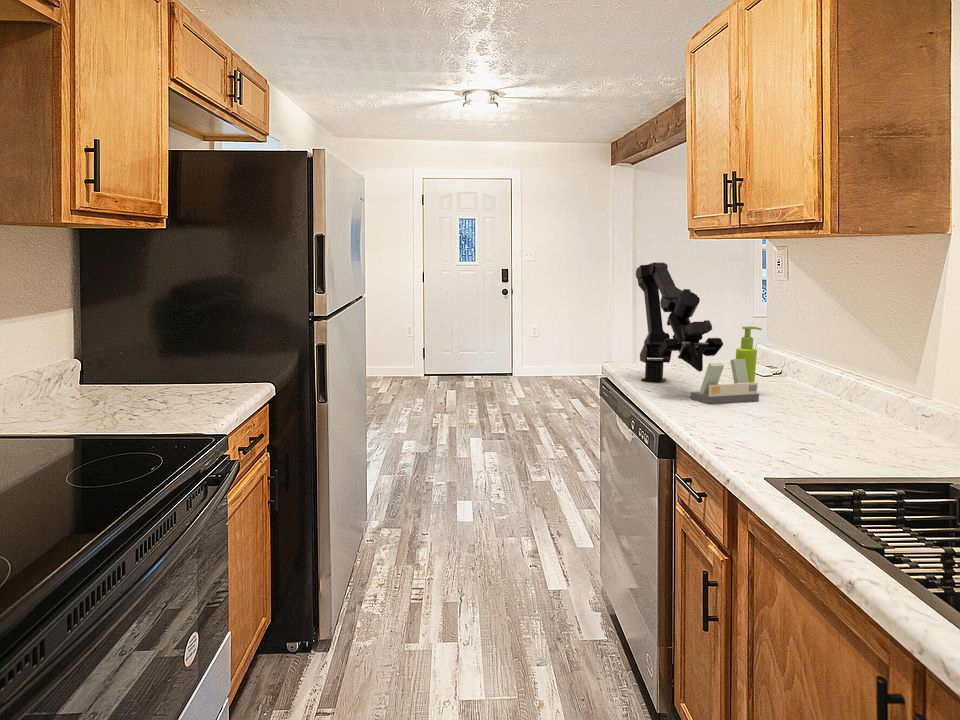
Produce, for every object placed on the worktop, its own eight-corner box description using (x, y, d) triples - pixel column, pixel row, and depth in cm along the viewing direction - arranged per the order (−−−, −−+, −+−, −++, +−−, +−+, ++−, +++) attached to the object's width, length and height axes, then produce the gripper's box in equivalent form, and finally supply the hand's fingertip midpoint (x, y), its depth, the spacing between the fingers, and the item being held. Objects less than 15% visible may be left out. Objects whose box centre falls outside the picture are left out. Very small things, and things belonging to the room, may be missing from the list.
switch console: (690, 398, 233) (691, 381, 233) (739, 395, 240) (740, 378, 239) (708, 404, 226) (709, 385, 225) (758, 400, 233) (759, 382, 232)
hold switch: (735, 390, 235) (730, 360, 237) (746, 390, 237) (741, 359, 238) (739, 389, 234) (733, 359, 235) (750, 389, 235) (744, 358, 237)
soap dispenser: (759, 394, 244) (764, 327, 241) (736, 393, 244) (741, 327, 241) (753, 391, 249) (758, 326, 247) (731, 390, 250) (735, 325, 247)
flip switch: (699, 391, 230) (708, 363, 226) (711, 390, 231) (720, 362, 227) (702, 394, 229) (712, 366, 224) (714, 393, 230) (723, 365, 226)
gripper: (665, 310, 232) (684, 354, 224) (722, 310, 238) (742, 353, 229) (650, 334, 241) (667, 377, 232) (705, 334, 247) (723, 376, 238)
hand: (700, 370), depth 233 cm, fingers closed
